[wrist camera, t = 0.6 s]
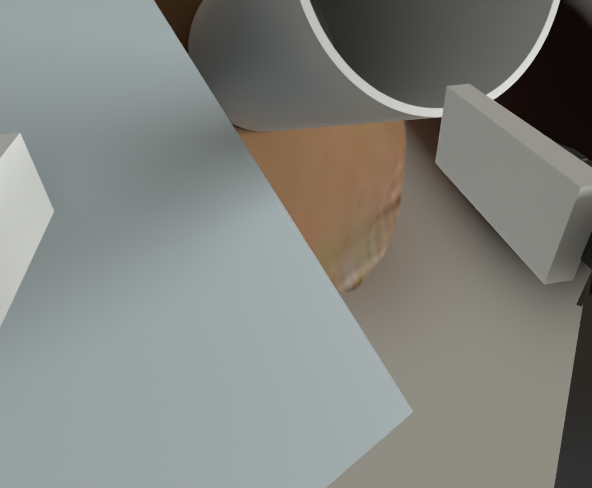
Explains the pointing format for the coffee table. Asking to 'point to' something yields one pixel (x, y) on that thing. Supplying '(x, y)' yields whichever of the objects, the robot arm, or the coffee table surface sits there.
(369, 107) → the cylinder vase
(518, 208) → the robot arm
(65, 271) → the open box
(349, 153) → the coffee table surface
